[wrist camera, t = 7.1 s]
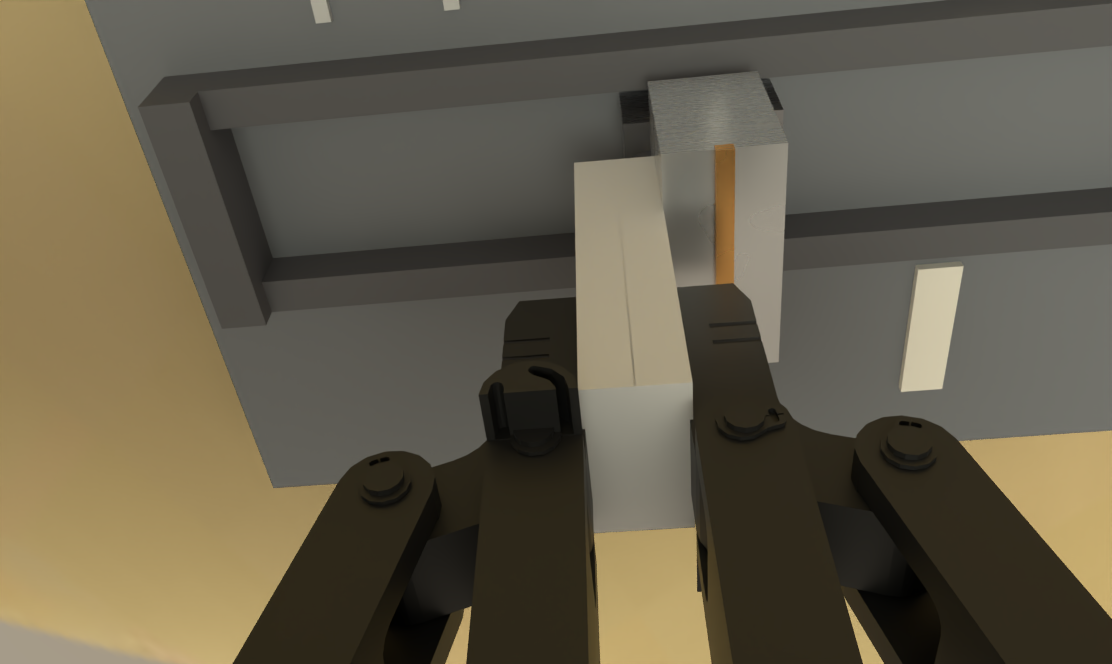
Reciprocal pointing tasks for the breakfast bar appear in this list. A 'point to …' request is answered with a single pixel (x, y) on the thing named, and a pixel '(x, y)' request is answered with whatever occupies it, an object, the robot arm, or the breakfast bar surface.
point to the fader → (718, 182)
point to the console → (596, 134)
